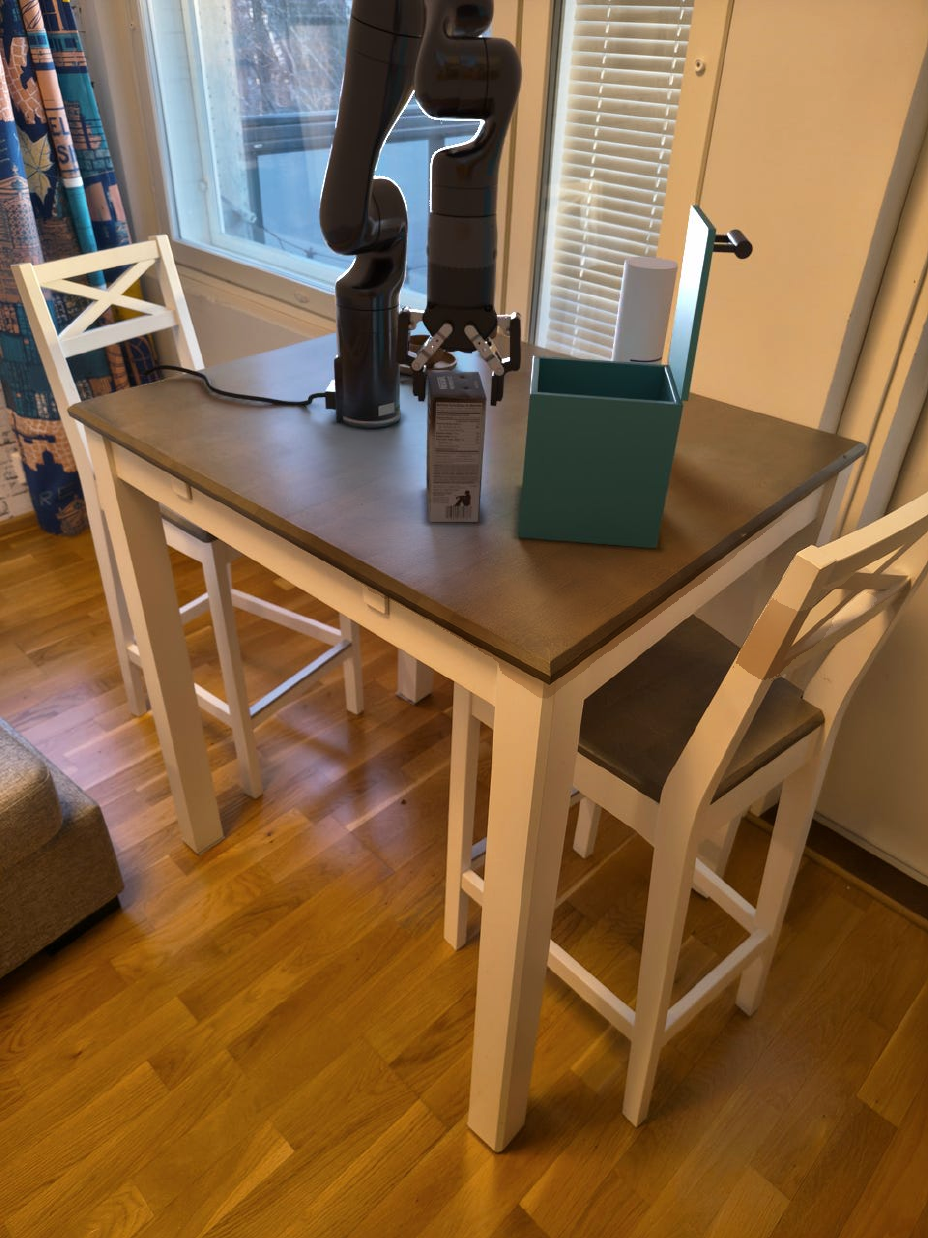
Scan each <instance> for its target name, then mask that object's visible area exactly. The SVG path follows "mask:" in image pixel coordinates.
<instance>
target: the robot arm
mask: <svg viewBox="0 0 928 1238" xmlns="http://www.w3.org/2000/svg"><path fill="white" fill-rule="evenodd" d="M494 15H495V0H352V3H351V9H350V17H349V24H348V32H347V39H346V40H347V41H346V50H345V60H344V61H345V62H344V68H343V76H342V77H343V78H342V84H341V89H340V90H341V91H340V95H339V96H340V97H339V104H338V109H337V115H336V121H335V128H334V134H333V139H332V143H331V146H330V147H331V148H330V153H329V157H328V161H327V166H326V170H325V175H324V179H323V183H322V187H321V192H320V198H319V207H318V221H319V222H318V223H319V228H320V232H321V235H322V238H323V241H324V243H325V245H326V246H327V247H328V248H329V250H330V251H332V253H334V254H336V255H338V256H342V257H345V256H346V257H350V256H355V258H354V260H353V262H352V264H351V265H350V267H349V268H348V269H347V270H346V271H345V272H344V273H343V274H342V275H340V276H339V277H338V278H337V279H336V281H335V284H334V304H335V305H334V307H335V309H334V310H335V328H336V331H335V333H336V355H335V358H334V359H333V373H334V374H333V375H334V376H333V377H334V379H331V381H330V382H329V384H328V386H327V387H326V389H325V390H324V392H316V393H315V392H314V393H312V394H309V396H308V398H307V399H306V400H301V401H290V400H282V399H276V398H271V397H265V396H258V395H251V394H244V393H243V394H242V393H237V392H231V391H226V390H222V389H221V388H218V387H215V386H214V385H213V384H212V382H211V380H210V378H209V377H208V376H207V374H205V373H202V372H200V371H197V370H192V369H189V368H185V367H182V366H178V365H174V364H173V365H172V364H157V365H154V366H150V367H149V368H147V369H146V370H145V371H143V373H141V375H142V376H149V375H150V374H151V373H154V372H155V371H160V370H168V371H170V370H171V371H176V372H180V373H184V374H188V375H191V376H195V377H198V378H201V379H203V381H204V383H205V385H206V387H207V388H208V389H209V390H210V391H211V392H213V393H215V394H218V395H221V396H223V397H228V398H233V399H239V400H247V401H253V402H262V403H266V404H272V405H281V406H300V407H305V406H309V405H311V404H312V403H313V401H314V400H315V399H319V398H320V399H321V398H324V405H325V410H334V411H335V421H336V423H344V424H346V425H348V426H351V427H355V428H363V429H378V428H384V427H388V426H392V425H394V424H396V423H397V422H399V421H400V419H401V394H400V393H401V381H400V380H401V372H400V364H405V365H407V366H409V367H410V368H411V369H412V372H413V376H412V379H413V380H412V395H413V396H414V397H417V402H421V403H425V400H426V399H427V379H426V378H427V377H426V366H424V365H425V363H426V362H427V361H428V360H429V358H431V357H432V355H433V354H434V353H435V352H436V350H437V349H438V348H439V347H440V348H441V349H443V350H445V352H450V353H455V352H460V353H463V354H473V353H475V352H478V353H479V355H480V356H481V357H482V359H483V361H484V362H486V364H488V366H489V367H490V369H491V370H492V372H491V373H492V374H491V385H490V386H491V387H490V405H489V406H491V407H497V404H498V402H502V401H503V398H504V387H505V375H507V373H509V372H518V371H519V370H520V368H521V363H522V314H521V313H520V312H518V311H515V312H512V314H509V315H508V314H501V315H500V314H499V315H498V314H497V311H496V309H495V300H496V299H495V298H496V278H497V261H498V260H497V259H498V243H499V242H498V241H499V240H498V239H499V237H498V236H499V234H498V233H499V232H498V220H497V217H498V214H497V212H498V195H499V179H500V177H499V176H500V168H501V161H502V156H503V152H504V148H505V144H506V139H507V136H508V133H509V129H510V125H511V123H512V120H513V117H514V113H515V111H516V107H517V104H518V101H519V97H520V93H521V88H522V83H523V66H522V59H521V57H520V55H519V51H518V50H517V48H516V46H515V45H514V44H513V43H512V42H511V41H510V40H508V39H506V38H503V37H495V36H494V37H491V36H489V37H488V36H483V35H484V34H486V32H487V31H488V30H489V28H490V27H491V25H492V22H493V19H494ZM482 36H483V37H482ZM413 94H414V97H415V101H416V103H417V104H418V106H419V108H420V109H421V110H422V112H423V113H424V114H425V115H427V116H428V118H431V119H434V120H440V121H441V120H442V121H480V125H479V127H478V130H477V132H476V133H475V135H474V136H473V137H472V138H471V139H470V140H468V141H466V142H463V143H459V144H455V145H451V146H446V147H443V148H440V149H438V150H437V151H435V152H434V154H433V155H432V158H431V163H430V197H429V198H430V200H429V202H430V203H429V204H430V205H429V206H430V210H429V211H430V212H429V222H428V229H427V244H426V256H427V257H426V258H427V259H426V260H427V261H426V263H427V264H426V306H425V309H424V310H419V309H412V308H411V306H409V305H404V306H403V307H401V292H402V289H403V287H404V283H405V280H406V274H407V257H408V256H407V254H408V239H409V238H408V237H409V236H408V235H409V218H408V217H409V216H408V209H407V208H408V207H407V204H406V200H405V196H404V194H403V192H402V190H401V188H400V187H399V186H398V184H397V183H396V182H395V181H394V180H392V179H391V178H389V177H385V176H380V175H379V176H376V170H377V166H378V162H379V159H380V155H381V152H382V149H383V147H384V145H385V143H386V140H387V138H388V136H389V135H390V133H391V131H392V129H393V128H394V126H395V124H397V122H398V120H399V118H400V116H401V115H402V113H403V112H404V110H405V109H406V107H407V105H408V103H409V102H410V100H411V98H412V96H413ZM420 322H422V324H423V325H424V327H425V329H426V330H427V332H428V333H429V335H431V336H430V337H429V339H428V340H427V341H426V343H425V344H424V346H423V347H422V348H421V349H420V351H419V352H418V353H417V354H415V353H413V352H410V351H409V350H410V336H411V335H412V334H411V332H412V331H414V330H415V329H417V327H418V324H419V323H420ZM497 326H498V327H500V328H501V329H502V334H503V335H504V336H506V337H509V357H505V358H503V357H502V356H501V354H500V353H499V351H498V349H497V347H496V344H494V342H493V339H490V337H489V336H490V335H491V334H492V332H493V331H494V330H495V329H496V327H497ZM498 327H497V328H498Z"/></svg>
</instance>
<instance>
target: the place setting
mask: <svg viewBox="0 0 928 1238" xmlns="http://www.w3.org/2000/svg"><path fill="white" fill-rule="evenodd" d="M498 327H499V326H497V327H496V329H495V330H494V331H493V332H492V334H491V335H490V336H489V337H490V339H491V340H495V339H496V338H497V335H498ZM430 336H431V334H413V335H412V334H411V335H410V350H409V351H410V352H413V353H415V354H417V353H418V352H419V351H420V349H421V348H422V347H423V346H424V344H425V343H426V341H427V340H428V339H429V337H430ZM458 360H459V359H458V357H457V356H456V354H454V353H453V352H445V350H443V349H441V348H440V347H439V348H438V349H437V350H436V352H435V353H434V354H433V355H432V357H431V358H429V360H428V361H427V362H426V363H425V365H424V366H426V380H428V371H430V370H452V371H454V370H455V368H457V365H458ZM400 373H402V374H404V375H408V376H410V377H411V376H412V377H413V372H412V369H411V368H410V367H409V366H407V365H405V364H400ZM410 381H413V378H403V379H400V382H410Z"/></svg>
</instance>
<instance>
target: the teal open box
mask: <svg viewBox="0 0 928 1238" xmlns="http://www.w3.org/2000/svg"><path fill="white" fill-rule="evenodd" d="M530 378H531V379H530V390H529V398H528V399H529V401H528V412H527V413H528V414H527V424H526V434H525V436H526V437H525V446H524V459H523V460H524V461H523V471H522V472H523V473H522V482H521V494H520V503H519V504H520V506H519V515H518V517H519V518H518V528H517V538H522V539H535V540H545V541H559V542H570V543H571V542H572V543H583V544H584V543H585V544H594V545H595V544H598V545H608V546H620V547H632V548H633V547H634V548H645V549H646V548H647V549H657V548H658V544H659V537H660V533H661V526H662V522H663V516H664V511H665V506H666V500H667V496H668V491H669V484H670V478H671V475H672V470H673V462H674V459H675V454H676V453H675V452H676V446H677V442H678V437H679V432H680V424H681V421H682V415H683V411H684V410H683V409H684V403H683V401H681V400H680V397H679V394H678V390H677V387H676V384H675V381H674V378H673V374H672V371H671V368H670V365H669V364H662V363H661V364H648V363H634V362H619V361H611V360H603V359H589V358H587V359H586V358H577V357H575V358H574V357H561V356H560V357H559V356H548V355H547V356H546V355H532V367H531V376H530Z"/></svg>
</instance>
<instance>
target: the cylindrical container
mask: <svg viewBox="0 0 928 1238" xmlns="http://www.w3.org/2000/svg"><path fill="white" fill-rule="evenodd" d="M678 269H679V264H678V263H677V262H675V261H674V260H671V259H666V258H662V257H654V256H633V257H628V258H625V259H624V264H623V272H622V279H621V287H620V294H619V300H618V307H617V308H618V309H617V315H616V317H617V318H616V323H615V330H614V337H613V346H612V352H611V359H610V361H619V362H634V363H648V364H662V363H663V356H664V351H665V345H666V339H667V334H668V327H669V321H670V316H671V310H672V303H673V298H674V292H675V285H676V280H677V275H678Z"/></svg>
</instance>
